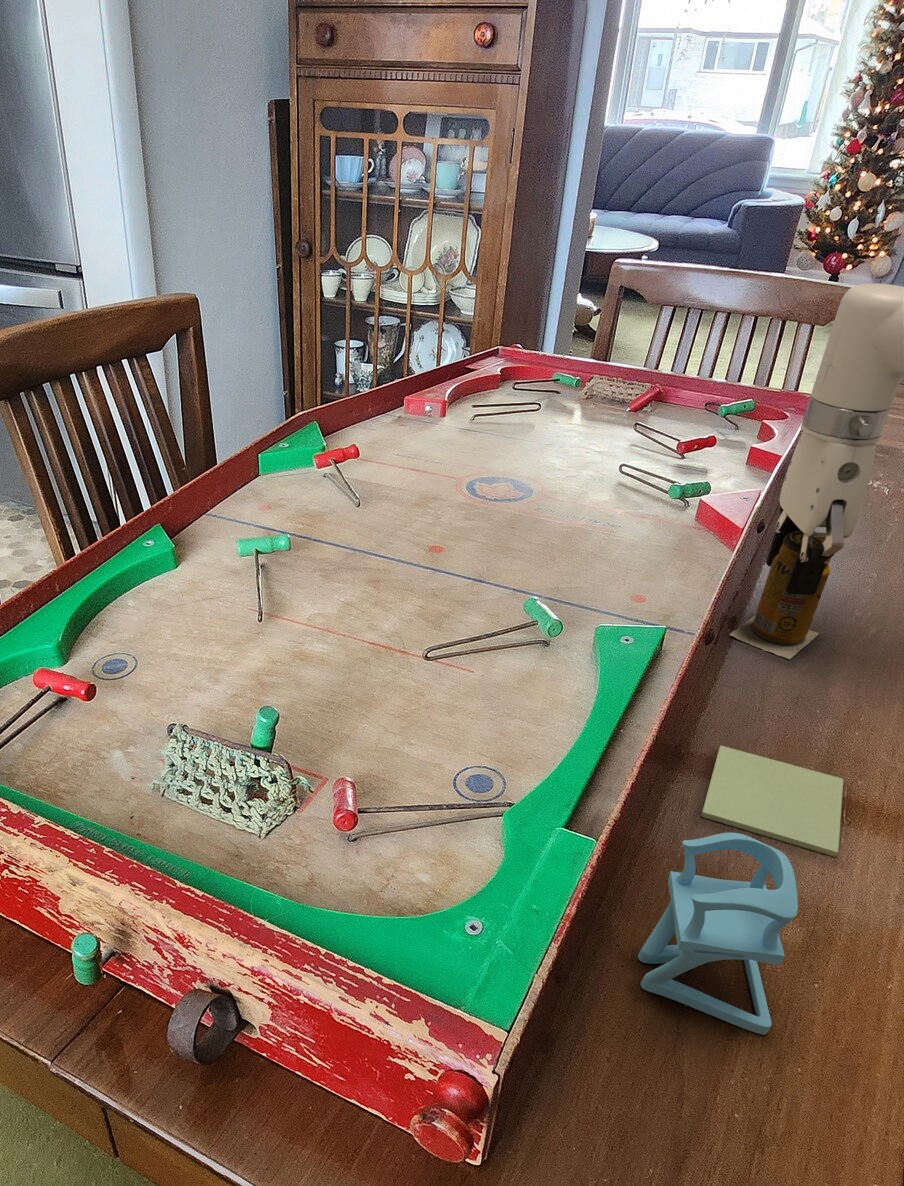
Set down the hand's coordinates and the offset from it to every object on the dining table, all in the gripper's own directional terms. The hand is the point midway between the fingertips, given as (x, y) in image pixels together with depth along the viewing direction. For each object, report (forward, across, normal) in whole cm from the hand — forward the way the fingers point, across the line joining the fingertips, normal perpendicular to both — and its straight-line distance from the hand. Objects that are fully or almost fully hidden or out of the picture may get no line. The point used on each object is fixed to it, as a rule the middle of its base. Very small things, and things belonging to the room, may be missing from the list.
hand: (789, 577), depth 103 cm
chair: (+7, -52, +22) cm, 57 cm away
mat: (+7, -31, +10) cm, 33 cm away
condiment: (+7, -1, 0) cm, 8 cm away
